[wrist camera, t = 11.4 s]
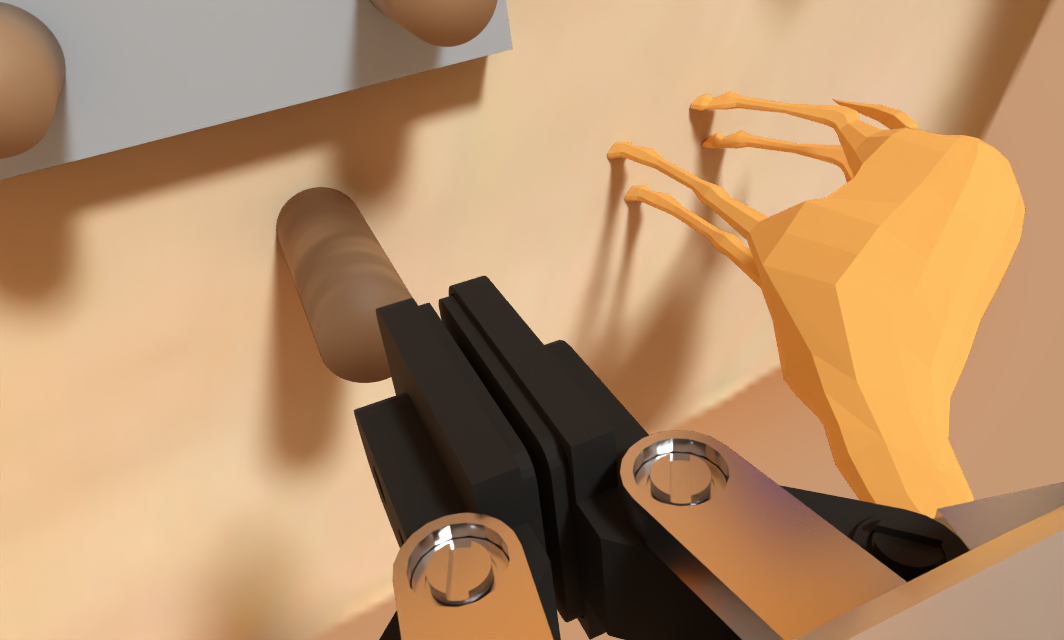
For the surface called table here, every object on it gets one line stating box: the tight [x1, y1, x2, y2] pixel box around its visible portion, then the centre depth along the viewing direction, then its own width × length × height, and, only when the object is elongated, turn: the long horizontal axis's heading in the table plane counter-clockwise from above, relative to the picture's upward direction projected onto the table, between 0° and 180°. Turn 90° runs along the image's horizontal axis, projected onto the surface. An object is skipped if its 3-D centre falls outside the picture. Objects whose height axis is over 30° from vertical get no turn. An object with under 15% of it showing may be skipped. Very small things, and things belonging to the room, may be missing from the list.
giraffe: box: [608, 92, 1026, 519], centre depth 23 cm, size 16×4×25 cm, turn 116°
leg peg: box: [276, 187, 412, 383], centre depth 25 cm, size 3×3×8 cm
